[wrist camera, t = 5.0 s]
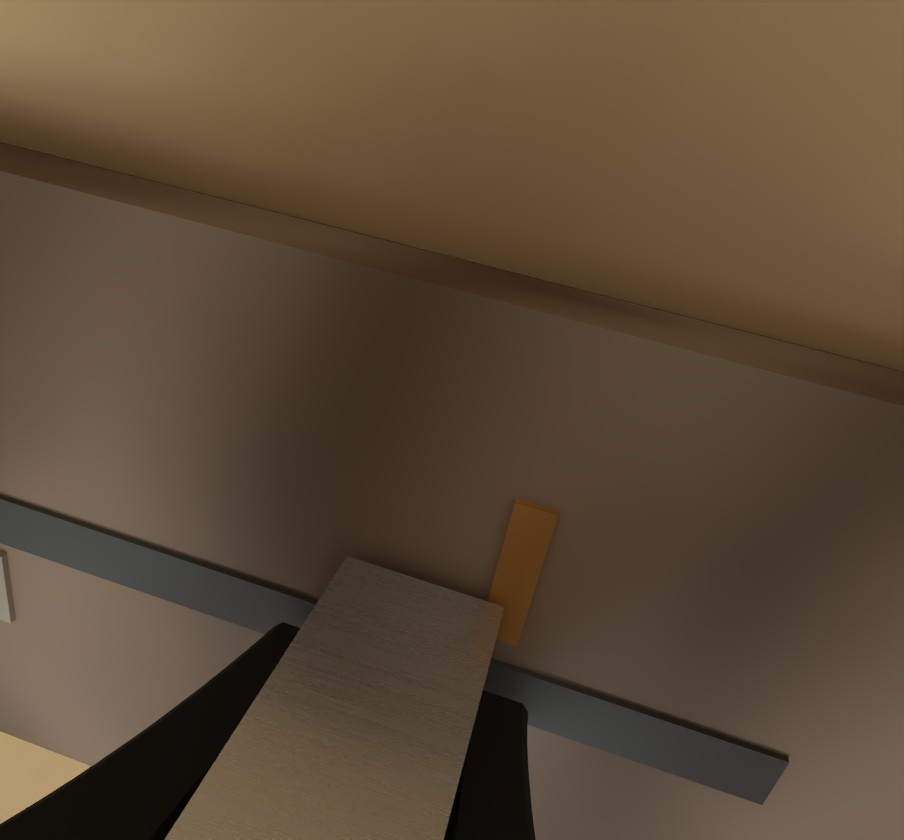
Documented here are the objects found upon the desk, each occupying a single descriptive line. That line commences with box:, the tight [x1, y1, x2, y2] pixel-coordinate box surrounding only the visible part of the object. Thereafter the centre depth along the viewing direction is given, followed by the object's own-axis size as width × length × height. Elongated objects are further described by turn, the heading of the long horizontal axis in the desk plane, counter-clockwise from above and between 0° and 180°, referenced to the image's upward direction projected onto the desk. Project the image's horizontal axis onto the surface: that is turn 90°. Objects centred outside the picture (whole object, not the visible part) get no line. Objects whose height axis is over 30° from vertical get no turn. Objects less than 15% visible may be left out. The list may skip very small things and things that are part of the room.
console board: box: [0, 143, 904, 840], centre depth 12 cm, size 20×12×2 cm, turn 79°
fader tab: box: [165, 556, 504, 840], centre depth 9 cm, size 2×4×4 cm, turn 169°
